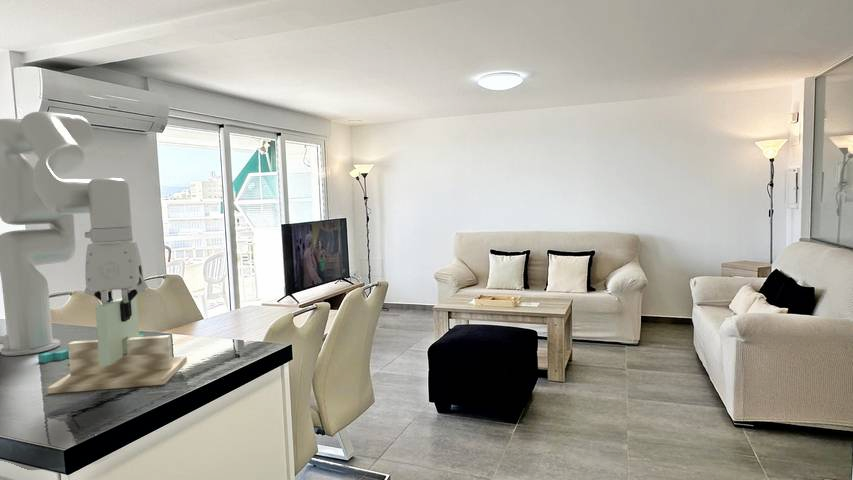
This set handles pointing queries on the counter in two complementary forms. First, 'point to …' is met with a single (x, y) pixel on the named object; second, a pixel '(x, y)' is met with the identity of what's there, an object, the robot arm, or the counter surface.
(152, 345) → the cross stand
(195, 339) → the counter surface
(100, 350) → the slotted plate
